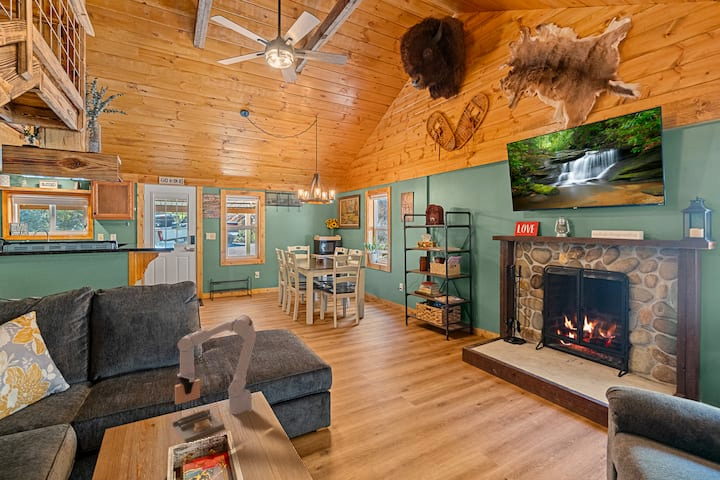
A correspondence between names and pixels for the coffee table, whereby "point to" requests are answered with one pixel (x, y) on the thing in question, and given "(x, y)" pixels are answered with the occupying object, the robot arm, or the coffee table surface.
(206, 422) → the offcut top
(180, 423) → the rack
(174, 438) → the coffee table surface
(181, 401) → the panel
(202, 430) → the block
